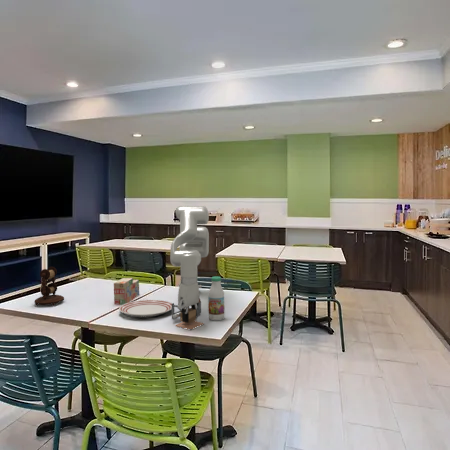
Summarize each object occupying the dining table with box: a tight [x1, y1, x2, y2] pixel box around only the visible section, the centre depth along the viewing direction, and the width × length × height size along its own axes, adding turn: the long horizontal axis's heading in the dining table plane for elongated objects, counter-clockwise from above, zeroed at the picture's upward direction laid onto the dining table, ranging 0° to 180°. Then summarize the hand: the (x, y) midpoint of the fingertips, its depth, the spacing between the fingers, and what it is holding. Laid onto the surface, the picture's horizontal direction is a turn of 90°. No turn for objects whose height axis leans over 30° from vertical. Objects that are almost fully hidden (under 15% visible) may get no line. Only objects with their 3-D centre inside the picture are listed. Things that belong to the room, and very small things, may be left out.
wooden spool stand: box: [34, 266, 65, 307], centre depth 198 cm, size 15×15×20 cm
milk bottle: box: [207, 276, 225, 321], centre depth 172 cm, size 8×8×20 cm
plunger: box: [171, 300, 202, 320], centre depth 174 cm, size 18×5×6 cm, turn 145°
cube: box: [179, 307, 197, 323], centre depth 163 cm, size 5×5×5 cm
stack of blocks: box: [113, 277, 140, 306], centre depth 206 cm, size 21×6×12 cm, turn 172°
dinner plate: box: [118, 299, 173, 318], centre depth 183 cm, size 28×27×3 cm
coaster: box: [175, 320, 205, 330], centre depth 163 cm, size 9×9×1 cm
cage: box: [171, 302, 201, 317], centre depth 174 cm, size 12×8×8 cm, turn 145°
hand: (189, 319), depth 163 cm, fingers closed on cube, 5 cm apart
